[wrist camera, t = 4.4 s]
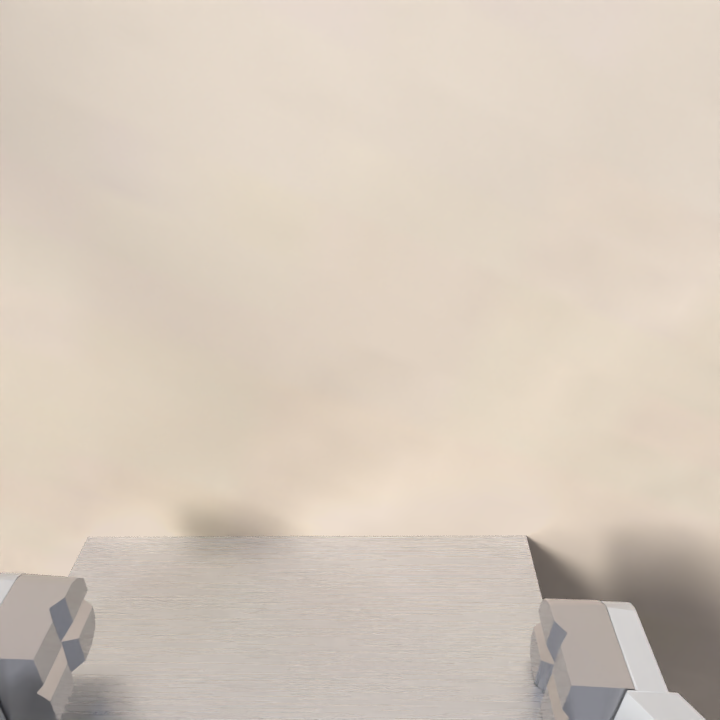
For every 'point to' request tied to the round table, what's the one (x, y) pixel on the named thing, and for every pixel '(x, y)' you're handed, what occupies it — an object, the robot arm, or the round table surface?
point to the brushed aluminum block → (308, 628)
